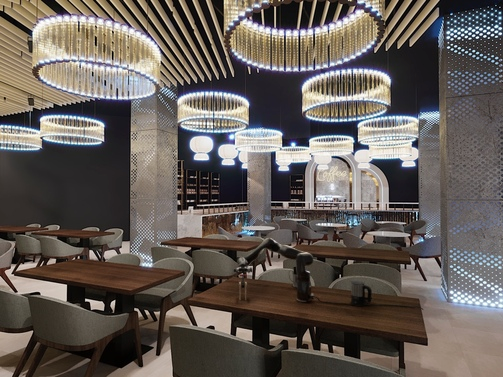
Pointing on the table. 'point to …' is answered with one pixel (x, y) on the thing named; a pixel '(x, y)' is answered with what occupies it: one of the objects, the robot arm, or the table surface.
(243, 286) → the lever
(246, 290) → the toaster bracket
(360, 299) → the milk frother
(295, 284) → the glass holder
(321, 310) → the table surface
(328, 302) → the robot arm
